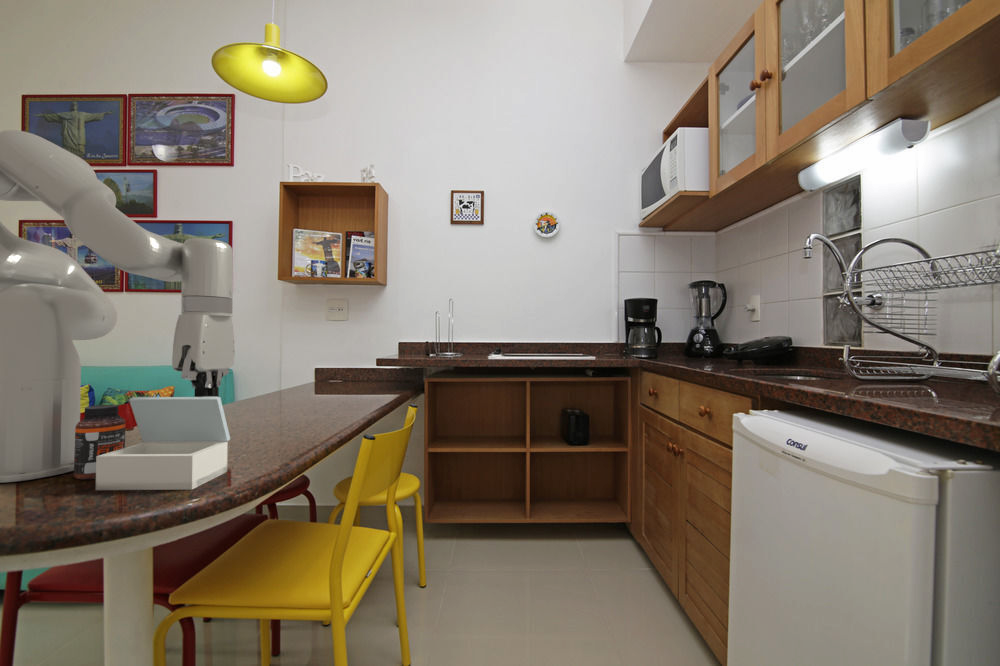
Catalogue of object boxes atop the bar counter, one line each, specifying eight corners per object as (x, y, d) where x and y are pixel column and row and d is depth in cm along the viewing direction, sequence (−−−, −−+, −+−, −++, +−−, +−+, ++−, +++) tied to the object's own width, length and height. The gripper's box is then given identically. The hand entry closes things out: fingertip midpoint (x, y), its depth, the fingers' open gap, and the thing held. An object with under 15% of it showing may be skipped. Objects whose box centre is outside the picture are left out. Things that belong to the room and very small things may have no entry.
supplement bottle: (99, 481, 63) (100, 409, 63) (62, 481, 63) (63, 409, 64) (134, 469, 69) (135, 403, 69) (100, 468, 69) (101, 403, 70)
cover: (128, 399, 65) (136, 395, 66) (142, 441, 68) (149, 437, 69) (217, 399, 65) (222, 395, 67) (227, 441, 68) (232, 436, 69)
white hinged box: (95, 490, 59) (96, 456, 60) (142, 472, 67) (142, 442, 68) (192, 489, 60) (192, 455, 60) (227, 471, 68) (227, 442, 68)
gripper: (214, 311, 80) (213, 403, 80) (152, 304, 65) (150, 417, 65) (252, 311, 81) (251, 403, 80) (199, 304, 66) (198, 417, 65)
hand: (206, 409), depth 73 cm, fingers closed
